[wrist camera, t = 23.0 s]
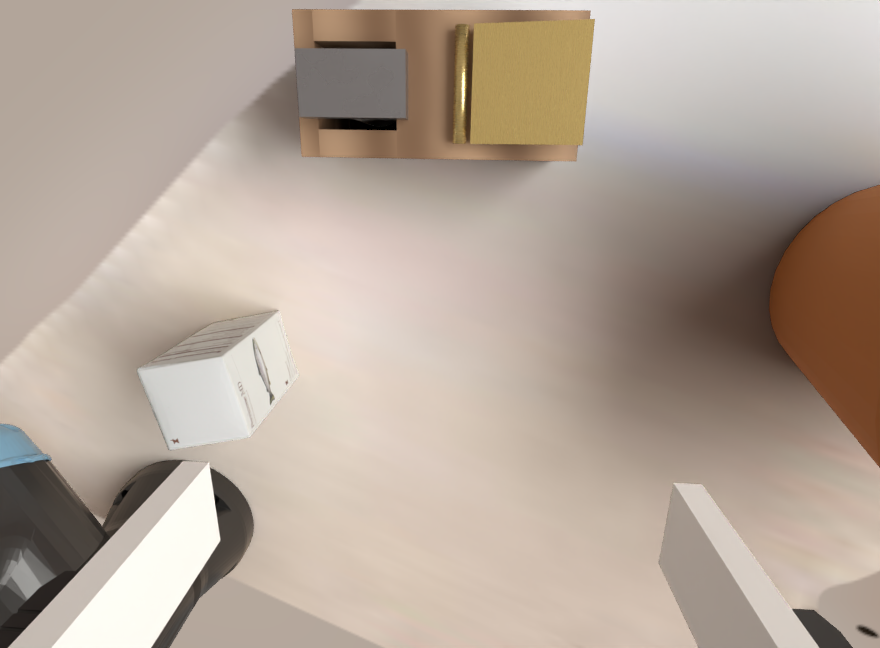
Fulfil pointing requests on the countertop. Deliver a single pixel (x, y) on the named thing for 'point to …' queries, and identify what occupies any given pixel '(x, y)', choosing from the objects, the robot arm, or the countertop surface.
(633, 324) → the countertop surface
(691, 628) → the robot arm
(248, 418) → the supplement box
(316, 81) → the grey block
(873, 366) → the flowerpot
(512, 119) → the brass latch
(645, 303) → the countertop surface
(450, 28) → the socket block
